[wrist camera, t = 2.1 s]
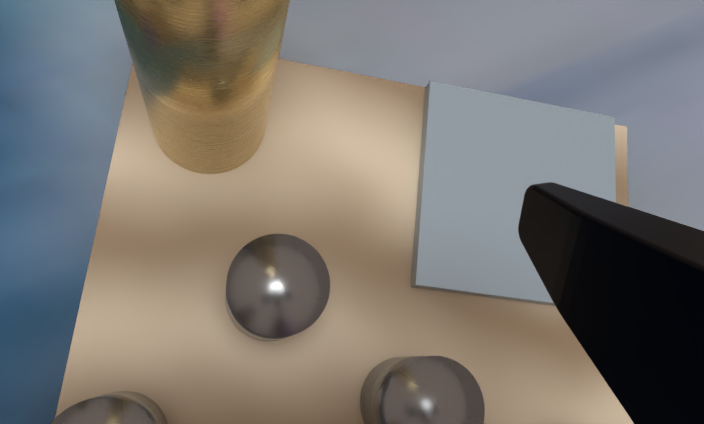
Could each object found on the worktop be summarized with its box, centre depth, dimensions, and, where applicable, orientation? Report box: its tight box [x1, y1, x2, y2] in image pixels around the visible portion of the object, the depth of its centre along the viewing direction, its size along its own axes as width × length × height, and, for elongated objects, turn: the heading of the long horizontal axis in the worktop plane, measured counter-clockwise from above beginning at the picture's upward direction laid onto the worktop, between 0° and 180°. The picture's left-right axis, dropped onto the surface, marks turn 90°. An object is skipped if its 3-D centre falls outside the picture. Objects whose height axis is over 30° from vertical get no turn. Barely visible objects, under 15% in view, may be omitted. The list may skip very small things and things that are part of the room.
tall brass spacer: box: [115, 0, 290, 174], centre depth 16 cm, size 4×4×12 cm
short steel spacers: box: [50, 234, 485, 424], centre depth 19 cm, size 8×18×4 cm, turn 84°
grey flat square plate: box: [411, 81, 616, 306], centre depth 23 cm, size 8×8×1 cm
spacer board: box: [55, 59, 633, 424], centre depth 22 cm, size 16×20×1 cm
